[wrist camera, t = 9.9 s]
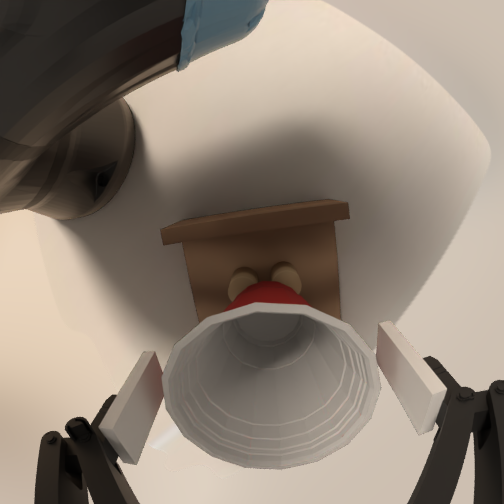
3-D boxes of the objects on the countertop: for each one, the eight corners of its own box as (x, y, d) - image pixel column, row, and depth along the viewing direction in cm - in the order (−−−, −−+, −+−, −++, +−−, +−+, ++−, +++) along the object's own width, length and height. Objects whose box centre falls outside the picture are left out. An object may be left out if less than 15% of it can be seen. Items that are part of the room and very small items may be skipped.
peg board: (181, 220, 27) (160, 229, 21) (328, 199, 26) (348, 202, 20) (213, 363, 30) (204, 399, 24) (338, 347, 29) (353, 380, 23)
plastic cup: (291, 220, 22) (328, 257, 10) (350, 327, 24) (403, 419, 12) (176, 288, 23) (113, 370, 12) (245, 380, 25) (237, 484, 13)
